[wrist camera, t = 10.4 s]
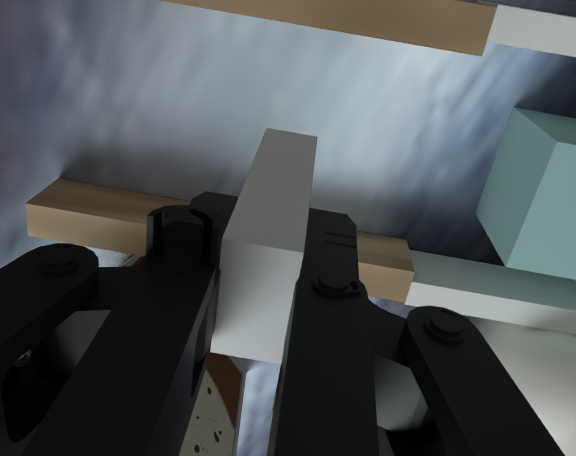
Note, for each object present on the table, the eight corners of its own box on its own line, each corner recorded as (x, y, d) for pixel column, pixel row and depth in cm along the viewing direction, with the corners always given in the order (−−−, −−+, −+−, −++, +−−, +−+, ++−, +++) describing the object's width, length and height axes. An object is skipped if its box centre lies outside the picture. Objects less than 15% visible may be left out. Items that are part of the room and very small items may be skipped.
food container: (38, 274, 28) (-102, 419, 19) (125, 223, 26) (15, 356, 17) (177, 425, 32) (115, 602, 23) (260, 390, 30) (228, 567, 21)
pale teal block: (512, 106, 22) (556, 141, 18) (629, 127, 22) (703, 168, 18) (474, 212, 24) (505, 267, 20) (580, 231, 24) (635, 290, 20)
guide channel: (46, -72, 20) (2, -79, 18) (475, 2, 20) (496, 8, 18) (59, 208, 26) (27, 236, 23) (398, 267, 26) (405, 302, 23)
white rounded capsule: (481, 283, 26) (518, 365, 21) (592, 303, 26) (659, 391, 21) (448, 369, 28) (474, 462, 23) (549, 387, 28) (599, 484, 23)
